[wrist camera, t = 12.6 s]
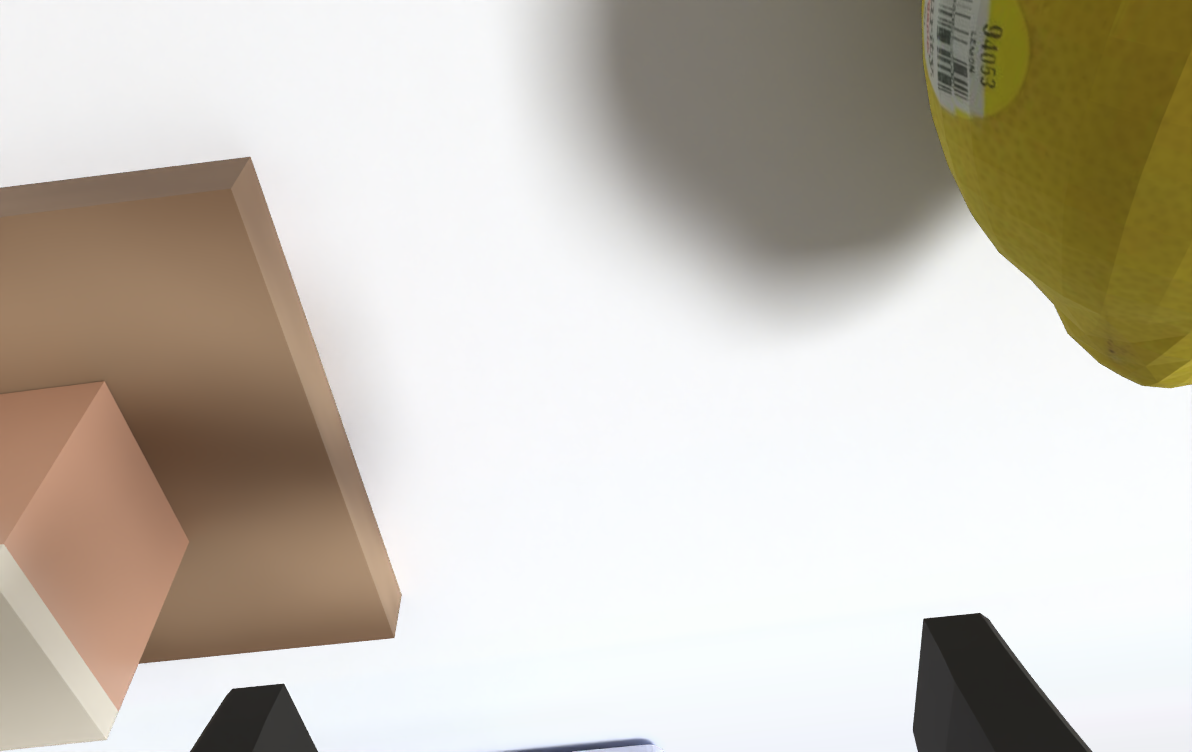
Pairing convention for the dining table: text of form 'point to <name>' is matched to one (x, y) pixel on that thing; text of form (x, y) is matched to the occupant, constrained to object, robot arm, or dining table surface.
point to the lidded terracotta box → (75, 563)
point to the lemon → (1078, 160)
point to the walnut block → (202, 397)
